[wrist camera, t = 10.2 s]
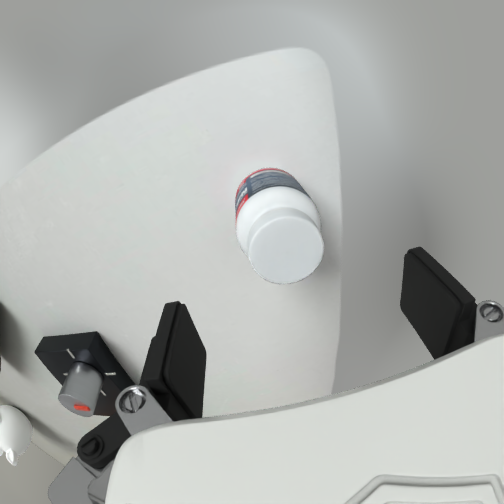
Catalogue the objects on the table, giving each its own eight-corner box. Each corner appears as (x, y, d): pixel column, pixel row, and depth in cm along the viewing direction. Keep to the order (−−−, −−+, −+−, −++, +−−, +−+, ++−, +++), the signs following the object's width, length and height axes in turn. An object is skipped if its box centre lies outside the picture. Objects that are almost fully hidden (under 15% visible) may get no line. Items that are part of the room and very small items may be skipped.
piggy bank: (3, 389, 37) (-20, 441, 24) (43, 421, 42) (26, 473, 28) (-6, 398, 40) (-25, 442, 26) (30, 426, 44) (15, 470, 31)
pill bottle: (232, 168, 21) (231, 205, 13) (300, 165, 21) (339, 199, 13) (237, 232, 24) (240, 297, 16) (300, 227, 24) (331, 289, 16)
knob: (83, 384, 29) (71, 417, 24) (65, 361, 27) (50, 395, 22) (110, 385, 28) (99, 420, 24) (92, 361, 26) (77, 398, 22)
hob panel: (42, 335, 29) (32, 351, 26) (104, 328, 28) (95, 347, 25) (95, 400, 35) (90, 415, 32) (156, 400, 35) (153, 418, 32)
